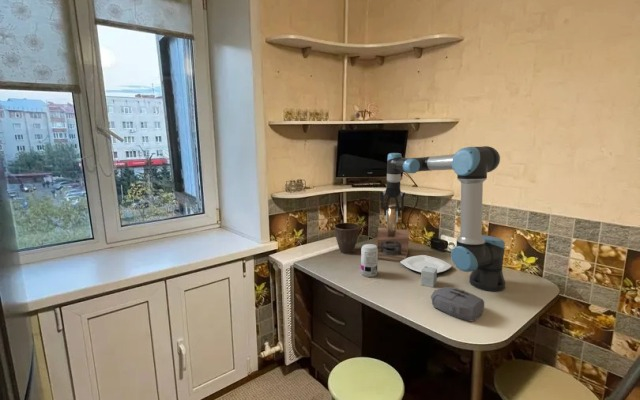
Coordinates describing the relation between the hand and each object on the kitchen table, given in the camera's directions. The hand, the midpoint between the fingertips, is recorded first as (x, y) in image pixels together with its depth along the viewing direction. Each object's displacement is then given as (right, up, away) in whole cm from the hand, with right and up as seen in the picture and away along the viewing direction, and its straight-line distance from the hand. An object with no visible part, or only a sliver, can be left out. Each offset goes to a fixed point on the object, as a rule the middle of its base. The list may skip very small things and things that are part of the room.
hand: (391, 221), depth 196 cm
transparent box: (0, -20, +4) cm, 20 cm away
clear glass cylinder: (0, -9, +2) cm, 9 cm away
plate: (+15, -24, -13) cm, 31 cm away
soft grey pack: (+14, -33, -56) cm, 66 cm away
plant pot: (-25, -19, +11) cm, 33 cm away
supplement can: (-16, -26, -21) cm, 37 cm away
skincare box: (+11, -28, -33) cm, 44 cm away
